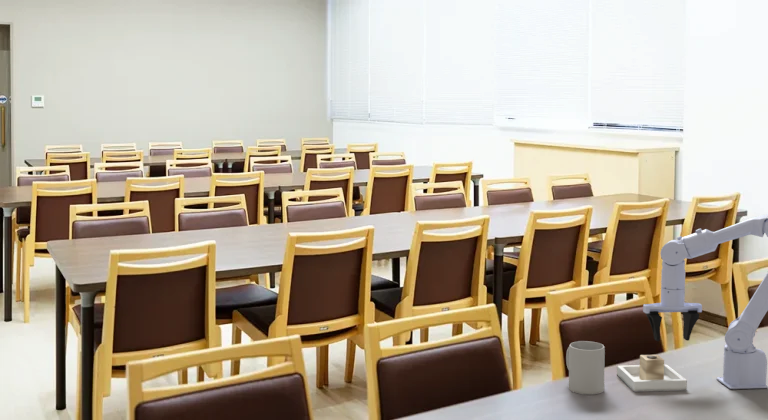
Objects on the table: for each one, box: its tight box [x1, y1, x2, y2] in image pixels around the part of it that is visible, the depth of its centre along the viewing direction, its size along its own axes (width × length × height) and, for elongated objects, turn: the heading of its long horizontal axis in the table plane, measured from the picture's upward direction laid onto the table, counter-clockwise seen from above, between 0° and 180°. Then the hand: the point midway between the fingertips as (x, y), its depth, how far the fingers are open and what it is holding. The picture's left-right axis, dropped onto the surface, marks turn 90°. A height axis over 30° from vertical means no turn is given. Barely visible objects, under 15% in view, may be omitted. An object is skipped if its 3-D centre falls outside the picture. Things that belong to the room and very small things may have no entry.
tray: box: [616, 363, 688, 393], centre depth 210 cm, size 13×13×2 cm
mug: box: [565, 340, 606, 396], centre depth 206 cm, size 12×8×11 cm
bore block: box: [639, 354, 665, 380], centre depth 209 cm, size 4×4×6 cm
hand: (671, 339), depth 214 cm, fingers open, 7 cm apart
